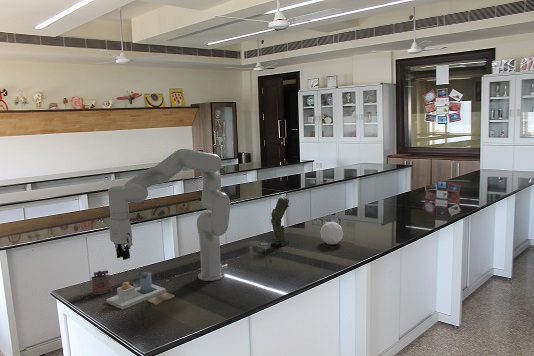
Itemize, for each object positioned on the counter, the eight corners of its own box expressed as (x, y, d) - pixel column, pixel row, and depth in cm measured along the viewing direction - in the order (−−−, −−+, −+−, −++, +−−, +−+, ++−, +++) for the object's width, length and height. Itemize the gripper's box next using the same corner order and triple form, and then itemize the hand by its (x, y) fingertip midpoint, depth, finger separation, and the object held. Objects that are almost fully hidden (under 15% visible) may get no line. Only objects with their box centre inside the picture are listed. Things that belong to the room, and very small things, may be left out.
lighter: (92, 294, 200) (90, 273, 199) (93, 292, 204) (91, 270, 202) (111, 292, 203) (109, 271, 201) (111, 289, 206) (109, 268, 204)
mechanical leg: (272, 247, 257) (279, 198, 258) (264, 245, 263) (272, 196, 263) (289, 248, 266) (296, 200, 266) (281, 245, 271) (288, 198, 271)
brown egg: (127, 291, 194) (126, 281, 193) (131, 292, 192) (130, 282, 192) (121, 293, 192) (120, 283, 191) (125, 295, 190) (124, 284, 189)
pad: (166, 293, 199) (166, 292, 199) (175, 296, 195) (174, 295, 195) (147, 301, 192) (147, 299, 192) (156, 304, 188) (155, 303, 188)
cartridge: (147, 290, 204) (146, 271, 202) (154, 292, 200) (153, 273, 199) (138, 293, 200) (137, 274, 199) (145, 296, 197) (143, 276, 195)
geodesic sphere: (310, 235, 263) (323, 218, 257) (319, 229, 275) (332, 213, 269) (329, 252, 259) (343, 235, 253) (337, 245, 271) (350, 229, 265)
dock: (149, 286, 209) (148, 273, 208) (166, 291, 201) (165, 279, 200) (106, 302, 192) (105, 289, 191) (122, 309, 184) (121, 295, 183)
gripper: (100, 215, 189) (104, 257, 192) (123, 220, 179) (126, 264, 182) (116, 211, 195) (120, 252, 198) (139, 216, 185) (142, 259, 187)
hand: (123, 257), depth 190 cm, fingers open, 3 cm apart
